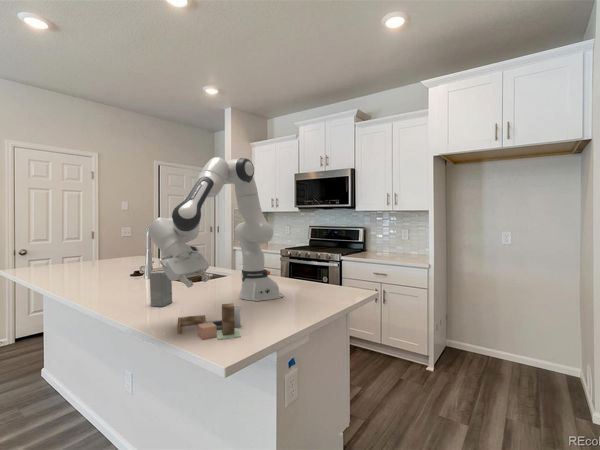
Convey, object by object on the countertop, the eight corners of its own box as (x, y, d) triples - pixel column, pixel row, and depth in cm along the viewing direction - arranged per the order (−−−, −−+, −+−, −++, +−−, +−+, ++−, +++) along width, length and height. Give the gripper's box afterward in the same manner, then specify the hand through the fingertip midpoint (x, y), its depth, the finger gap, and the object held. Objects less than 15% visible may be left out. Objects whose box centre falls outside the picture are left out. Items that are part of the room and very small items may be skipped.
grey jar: (239, 323, 129) (239, 306, 128) (241, 327, 124) (241, 309, 124) (228, 324, 127) (228, 307, 127) (229, 328, 123) (229, 310, 123)
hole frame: (226, 323, 128) (226, 319, 128) (228, 330, 121) (228, 326, 121) (206, 325, 126) (206, 321, 126) (207, 332, 119) (207, 328, 119)
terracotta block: (211, 332, 119) (211, 321, 119) (216, 337, 115) (216, 325, 115) (197, 335, 116) (197, 324, 116) (202, 340, 112) (202, 328, 112)
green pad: (237, 329, 122) (237, 328, 122) (241, 337, 115) (241, 335, 115) (215, 331, 120) (215, 330, 119) (217, 339, 112) (217, 338, 112)
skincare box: (162, 307, 150) (162, 273, 150) (148, 306, 152) (148, 272, 151) (173, 302, 158) (173, 269, 158) (160, 301, 160) (159, 269, 159)
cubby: (204, 322, 130) (204, 314, 130) (206, 330, 120) (206, 322, 120) (178, 325, 126) (177, 317, 126) (177, 334, 117) (177, 325, 117)
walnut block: (233, 330, 120) (233, 303, 119) (234, 334, 116) (234, 306, 116) (221, 331, 118) (221, 304, 118) (222, 335, 115) (222, 307, 114)
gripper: (163, 252, 113) (186, 284, 110) (199, 246, 132) (219, 273, 130) (152, 264, 115) (174, 295, 112) (189, 256, 134) (209, 283, 131)
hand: (199, 283), depth 121 cm, fingers open, 8 cm apart
